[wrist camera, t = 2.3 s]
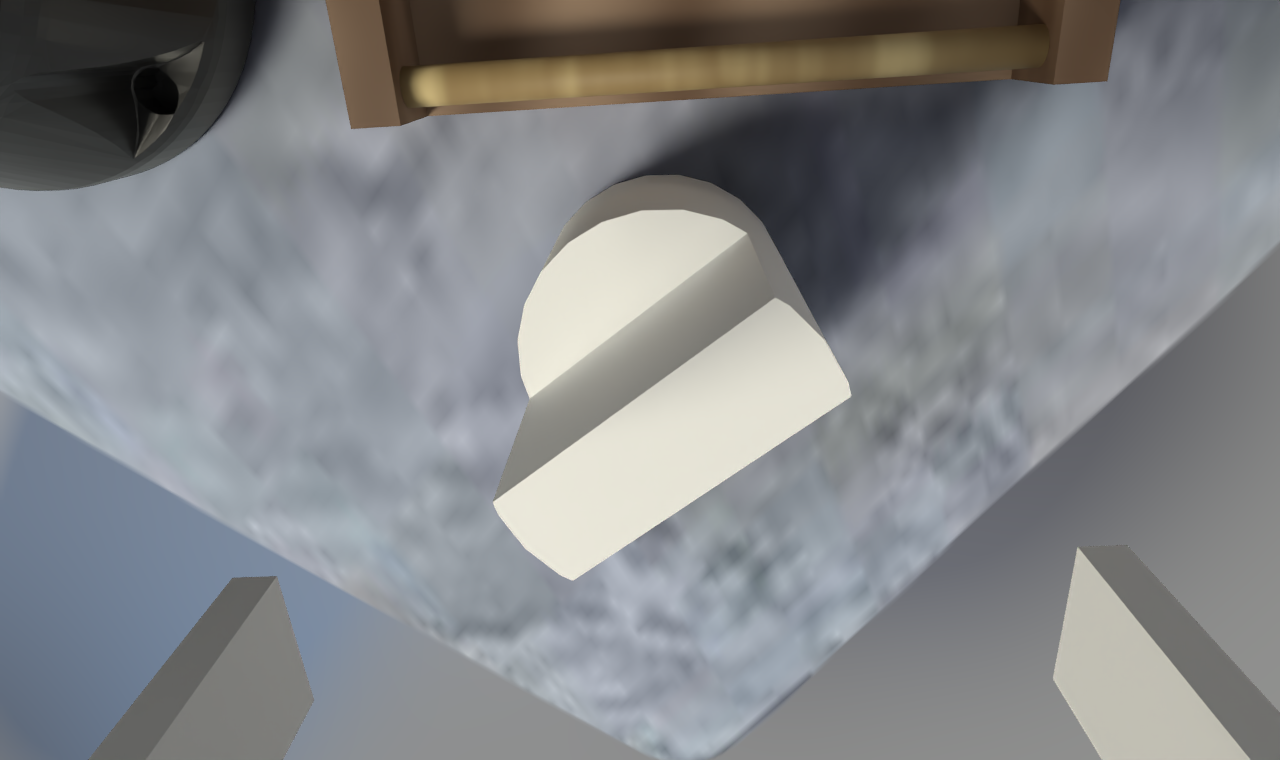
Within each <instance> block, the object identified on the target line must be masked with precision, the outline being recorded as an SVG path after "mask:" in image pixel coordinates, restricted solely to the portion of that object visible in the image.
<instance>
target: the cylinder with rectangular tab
mask: <svg viewBox="0 0 1280 760" xmlns="http://www.w3.org/2000/svg"><path fill="white" fill-rule="evenodd" d="M518 349H519V359H520V370H521V377H522V380H523V382H524V385H525V387H526V390H527V393H528V395H529V398H530V399H529V402H528V405H527V408H526V411H525V413H524V416H523V419H522V422H521V425H520V427H519V430H518V433H517V436H516V439H515V441H514V444H513V447H512V450H511V453H510V455H509V458H508V461H507V464H506V466H505V469H504V472H503V475H502V478H501V480H500V483H499V486H498V489H497V492H496V494H495V497H494V500H493V504H494V506H495V509H496V511H497V513H498V515H499V516H500V518H501V519H502V520H503V521H504V523H505V524H506V525H507V526H508V528H509V529H510V530H511V531H512V533H513V534H514V535H515V536H516V538H517V539H518V540H519V541H520V543H521V544H522V545H523V546H524V548H525V549H527V550H528V551H529V552H530V553H532V554H533V555H534V556H536V557H537V558H538V559H540V560H541V561H542V562H544V563H545V564H546V565H547V566H549V567H550V568H551V569H553V570H554V571H555V572H557V573H558V574H559V575H561V576H563V577H565V578H568V579H570V580H572V581H573V580H575V579H576V578H578V577H579V576H581V575H582V574H584V573H585V572H587V571H588V570H590V569H591V568H593V567H594V566H596V565H597V564H599V563H600V562H602V561H603V560H605V559H606V558H608V557H609V556H611V555H612V554H614V553H615V552H617V551H618V550H620V549H621V548H623V547H624V546H626V545H628V544H629V543H631V542H632V541H634V540H635V539H637V538H638V537H640V536H641V535H643V534H644V533H646V532H647V531H649V530H650V529H652V528H653V527H655V526H656V525H658V524H659V523H661V522H662V521H664V520H665V519H667V518H668V517H670V516H671V515H673V514H674V513H676V512H677V511H679V510H680V509H682V508H683V507H685V506H686V505H688V504H689V503H691V502H692V501H694V500H695V499H697V498H698V497H700V496H701V495H703V494H704V493H706V492H708V491H709V490H711V489H712V488H714V487H715V486H717V485H718V484H720V483H721V482H723V481H724V480H726V479H727V478H729V477H730V476H732V475H733V474H735V473H736V472H738V471H739V470H741V469H742V468H744V467H745V466H747V465H748V464H750V463H751V462H753V461H754V460H756V459H757V458H759V457H760V456H762V455H763V454H765V453H766V452H768V451H769V450H771V449H772V448H774V447H775V446H777V445H778V444H780V443H781V442H783V441H784V440H786V439H788V438H789V437H791V436H792V435H794V434H795V433H797V432H798V431H800V430H801V429H803V428H804V427H806V426H807V425H809V424H810V423H812V422H813V421H815V420H816V419H818V418H819V417H821V416H822V415H824V414H825V413H827V412H828V411H830V410H831V409H833V408H834V407H836V406H837V405H839V404H840V403H842V402H843V401H845V400H846V399H848V398H849V397H851V392H850V388H849V383H848V381H847V379H846V377H845V375H844V373H843V371H842V369H841V367H840V366H839V364H838V362H837V360H836V358H835V356H834V354H833V353H832V351H831V349H830V347H829V345H828V343H827V341H826V339H825V338H824V336H823V334H822V332H821V330H820V328H819V326H818V325H817V323H816V321H815V319H814V317H813V315H812V313H811V311H810V310H809V308H808V306H807V304H806V302H805V300H804V298H803V297H802V295H801V293H800V291H799V289H798V287H797V285H796V283H795V282H794V280H793V278H792V276H791V274H790V272H789V270H788V269H787V267H786V265H785V263H784V261H783V259H782V257H781V255H780V254H779V252H778V250H777V248H776V246H775V244H774V243H773V241H772V239H771V237H770V235H769V234H768V232H767V230H766V228H765V226H764V224H763V223H762V221H761V220H760V219H759V218H758V217H757V216H756V215H755V214H754V213H753V212H752V211H751V210H750V209H749V208H748V207H747V206H746V205H745V204H744V203H743V202H742V201H741V200H740V199H739V198H737V197H735V196H733V195H732V194H730V193H728V192H726V191H725V190H723V189H721V188H719V187H718V186H716V185H714V184H712V183H710V182H706V181H702V180H698V179H694V178H690V177H686V176H682V175H645V176H642V177H638V178H635V179H632V180H628V181H625V182H622V183H618V184H615V185H613V186H611V187H609V188H608V189H606V190H605V191H603V192H601V193H600V194H598V195H597V196H595V197H593V198H592V199H590V200H589V201H587V202H586V203H585V204H584V205H583V206H582V207H581V208H580V209H579V210H578V211H577V212H576V213H575V215H574V216H573V217H572V218H571V219H570V220H569V221H568V222H567V223H566V224H565V225H564V227H563V229H562V231H561V233H560V235H559V237H558V239H557V241H556V243H555V245H554V247H553V249H552V251H551V253H550V255H549V257H548V259H547V261H546V263H545V265H544V267H543V269H542V271H541V273H540V275H539V277H538V279H537V281H536V283H535V285H534V287H533V289H532V291H531V293H530V295H529V297H528V299H527V301H526V303H525V305H524V310H523V315H522V320H521V326H520V331H519V336H518Z"/></svg>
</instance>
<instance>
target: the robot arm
mask: <svg viewBox="0 0 1280 760" xmlns="http://www.w3.org/2000/svg"><path fill="white" fill-rule="evenodd" d="M254 10H255V0H0V187H1V188H8V189H15V190H29V191H53V190H69V189H78V188H83V187H89V186H94V185H98V184H101V183H105V182H109V181H113V180H117V179H120V178H124V177H128V176H131V175H135V174H139V173H142V172H144V171H147V170H150V169H152V168H155V167H157V166H159V165H161V164H163V163H165V162H167V161H169V160H170V159H172V158H174V157H175V156H177V155H179V154H180V153H181V152H183V151H184V150H185V149H187V148H188V147H190V146H191V145H192V144H193V143H194V142H195V141H196V140H198V139H199V138H200V137H201V136H202V135H203V134H204V133H205V132H206V131H207V129H208V128H209V127H210V126H211V125H212V124H213V123H214V121H215V120H216V119H217V117H218V116H219V115H220V113H221V112H222V110H223V109H224V107H225V105H226V104H227V102H228V101H229V99H230V97H231V95H232V93H233V91H234V89H235V87H236V85H237V83H238V80H239V78H240V75H241V73H242V70H243V67H244V64H245V61H246V57H247V54H248V50H249V45H250V41H251V36H252V29H253V22H254ZM1053 680H1054V681H1055V683H1056V685H1057V686H1058V688H1059V689H1060V691H1061V693H1062V694H1063V696H1064V698H1065V699H1066V701H1067V703H1068V705H1069V706H1070V708H1071V709H1072V711H1073V713H1074V714H1075V716H1076V717H1077V719H1078V721H1079V723H1080V724H1081V726H1082V728H1083V729H1084V731H1085V733H1086V734H1087V736H1088V737H1089V739H1090V741H1091V743H1092V744H1093V746H1094V747H1095V749H1096V751H1097V752H1098V754H1099V756H1100V757H1101V759H1102V760H1280V712H1279V711H1278V710H1277V709H1276V708H1275V707H1274V706H1273V705H1272V704H1271V703H1270V701H1269V700H1268V699H1267V698H1266V697H1265V696H1264V695H1263V694H1262V693H1261V692H1260V691H1259V689H1258V688H1257V687H1256V686H1255V685H1254V684H1253V683H1252V682H1251V681H1250V679H1249V678H1248V677H1247V676H1246V675H1245V674H1244V673H1243V672H1242V671H1241V670H1240V668H1238V666H1237V665H1236V664H1235V663H1234V662H1233V661H1232V660H1231V659H1230V658H1229V656H1228V655H1226V653H1225V652H1224V651H1223V650H1222V649H1221V648H1220V647H1219V646H1218V644H1217V643H1216V642H1215V641H1214V640H1213V639H1212V638H1211V637H1210V636H1209V634H1208V633H1207V632H1206V631H1205V630H1204V629H1203V628H1202V627H1201V626H1200V625H1199V624H1198V622H1197V621H1196V620H1195V619H1194V618H1193V617H1192V616H1191V615H1190V614H1189V613H1188V611H1187V610H1186V609H1185V608H1184V607H1183V606H1182V605H1181V604H1180V603H1179V602H1178V601H1177V600H1176V598H1175V597H1174V596H1173V595H1172V594H1171V593H1170V592H1169V591H1168V590H1167V588H1166V587H1165V586H1164V585H1163V584H1162V583H1161V582H1160V581H1159V580H1158V579H1157V577H1155V575H1154V574H1153V573H1152V572H1151V571H1150V570H1149V569H1148V568H1147V567H1146V566H1145V564H1144V563H1143V562H1142V561H1141V560H1140V559H1139V558H1138V557H1137V556H1136V555H1135V553H1134V552H1133V551H1132V550H1131V549H1130V548H1129V547H1128V546H1127V545H1116V546H1088V547H1078V548H1077V553H1076V559H1075V564H1074V570H1073V575H1072V580H1071V585H1070V591H1069V596H1068V601H1067V607H1066V612H1065V618H1064V623H1063V628H1062V633H1061V639H1060V644H1059V649H1058V655H1057V660H1056V665H1055V671H1054V676H1053ZM313 701H314V698H313V695H312V691H311V688H310V685H309V681H308V678H307V675H306V672H305V669H304V665H303V662H302V658H301V655H300V652H299V648H298V645H297V642H296V639H295V635H294V632H293V629H292V625H291V622H290V618H289V615H288V612H287V608H286V606H285V602H284V598H283V595H282V592H281V589H280V585H279V582H278V578H277V577H276V576H270V577H242V578H232V579H231V580H230V582H229V583H228V584H227V586H226V587H225V588H224V589H223V591H222V592H221V593H220V594H219V596H218V597H217V598H216V599H215V601H214V602H213V603H212V604H211V606H210V607H209V608H208V609H207V611H206V612H205V613H204V614H203V616H202V617H201V618H200V619H199V621H198V622H197V623H196V625H195V626H194V627H193V628H192V630H191V631H190V632H189V634H188V635H187V636H186V637H185V638H184V640H183V641H182V642H181V643H180V645H179V646H178V647H177V649H176V650H175V651H174V652H173V654H172V655H171V656H170V657H169V659H168V660H167V661H166V662H165V664H164V665H163V666H162V668H161V669H160V670H159V671H158V672H157V674H156V675H155V676H154V678H153V679H152V680H151V681H150V683H149V684H148V685H147V687H146V688H145V689H144V690H143V691H142V693H141V694H140V695H139V696H138V698H137V699H136V700H135V701H134V703H133V704H132V705H131V707H130V708H129V709H128V710H127V712H126V713H125V714H124V715H123V717H122V718H121V719H120V721H119V722H118V723H117V724H116V726H115V727H114V728H113V729H112V730H111V732H110V733H109V734H108V736H107V737H106V738H105V739H104V741H103V742H102V743H101V745H100V746H99V747H98V748H97V749H96V751H95V752H94V753H93V754H92V756H91V757H90V758H89V759H88V760H283V759H284V757H285V755H286V753H287V751H288V749H289V747H290V745H291V743H292V741H293V740H294V738H295V736H296V734H297V732H298V730H299V728H300V726H301V724H302V722H303V720H304V719H305V717H306V715H307V713H308V711H309V709H310V707H311V705H312V703H313Z"/></svg>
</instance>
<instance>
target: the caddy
mask: <svg viewBox="0 0 1280 760" xmlns="http://www.w3.org/2000/svg"><path fill="white" fill-rule="evenodd" d="M326 5H327V10H328V15H329V20H330V25H331V30H332V35H333V40H334V45H335V50H336V55H337V60H338V65H339V70H340V75H341V80H342V85H343V90H344V95H345V100H346V105H347V110H348V115H349V120H350V125H351V129H356V128H372V127H388V126H401V125H404V124H407V123H410V122H412V121H415V120H418V119H421V118H424V117H426V116H436V115H451V114H467V113H483V112H499V111H514V110H530V109H546V108H562V107H577V106H593V105H609V104H625V103H640V102H656V101H672V100H688V99H703V98H719V97H735V96H751V95H766V94H782V93H798V92H814V91H829V90H845V89H861V88H877V87H893V86H908V85H924V84H940V83H956V82H971V81H987V80H1003V79H1015V80H1023V81H1030V82H1038V83H1045V84H1053V85H1055V84H1071V83H1087V82H1102V81H1107V79H1108V73H1109V67H1110V61H1111V55H1112V49H1113V43H1114V36H1115V30H1116V24H1117V18H1118V12H1119V6H1120V0H326Z"/></svg>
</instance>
